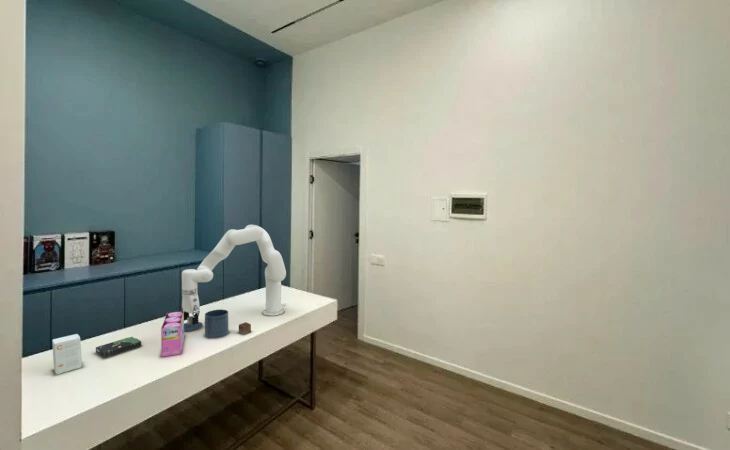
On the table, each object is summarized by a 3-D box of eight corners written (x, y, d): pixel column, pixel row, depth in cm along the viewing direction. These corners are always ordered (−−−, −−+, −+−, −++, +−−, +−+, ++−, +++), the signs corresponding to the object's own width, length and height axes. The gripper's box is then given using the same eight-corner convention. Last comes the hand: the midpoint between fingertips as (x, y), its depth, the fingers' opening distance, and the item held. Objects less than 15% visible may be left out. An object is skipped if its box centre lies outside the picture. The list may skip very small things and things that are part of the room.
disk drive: (104, 359, 142) (142, 346, 155) (104, 353, 142) (141, 340, 154) (95, 353, 147) (132, 341, 160) (95, 347, 147) (131, 335, 160)
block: (245, 330, 177) (245, 322, 176) (250, 332, 174) (250, 324, 174) (238, 332, 173) (238, 324, 173) (243, 334, 170) (243, 326, 170)
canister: (220, 328, 178) (220, 308, 178) (232, 333, 172) (232, 312, 171) (200, 334, 169) (200, 313, 168) (212, 340, 163) (212, 318, 162)
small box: (79, 362, 139) (78, 333, 138) (82, 367, 134) (80, 337, 134) (53, 369, 132) (51, 339, 131) (55, 375, 128) (54, 343, 127)
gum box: (167, 336, 166) (166, 311, 165) (185, 334, 169) (184, 309, 168) (161, 357, 144) (160, 328, 143) (181, 354, 148) (180, 325, 147)
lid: (195, 322, 186) (195, 311, 186) (207, 327, 179) (207, 316, 179) (173, 328, 176) (172, 318, 176) (184, 334, 169) (184, 323, 169)
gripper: (205, 292, 175) (205, 323, 176) (188, 287, 184) (189, 316, 186) (191, 296, 168) (192, 327, 170) (175, 290, 178) (175, 320, 179)
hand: (190, 321), depth 178 cm, fingers open, 9 cm apart
